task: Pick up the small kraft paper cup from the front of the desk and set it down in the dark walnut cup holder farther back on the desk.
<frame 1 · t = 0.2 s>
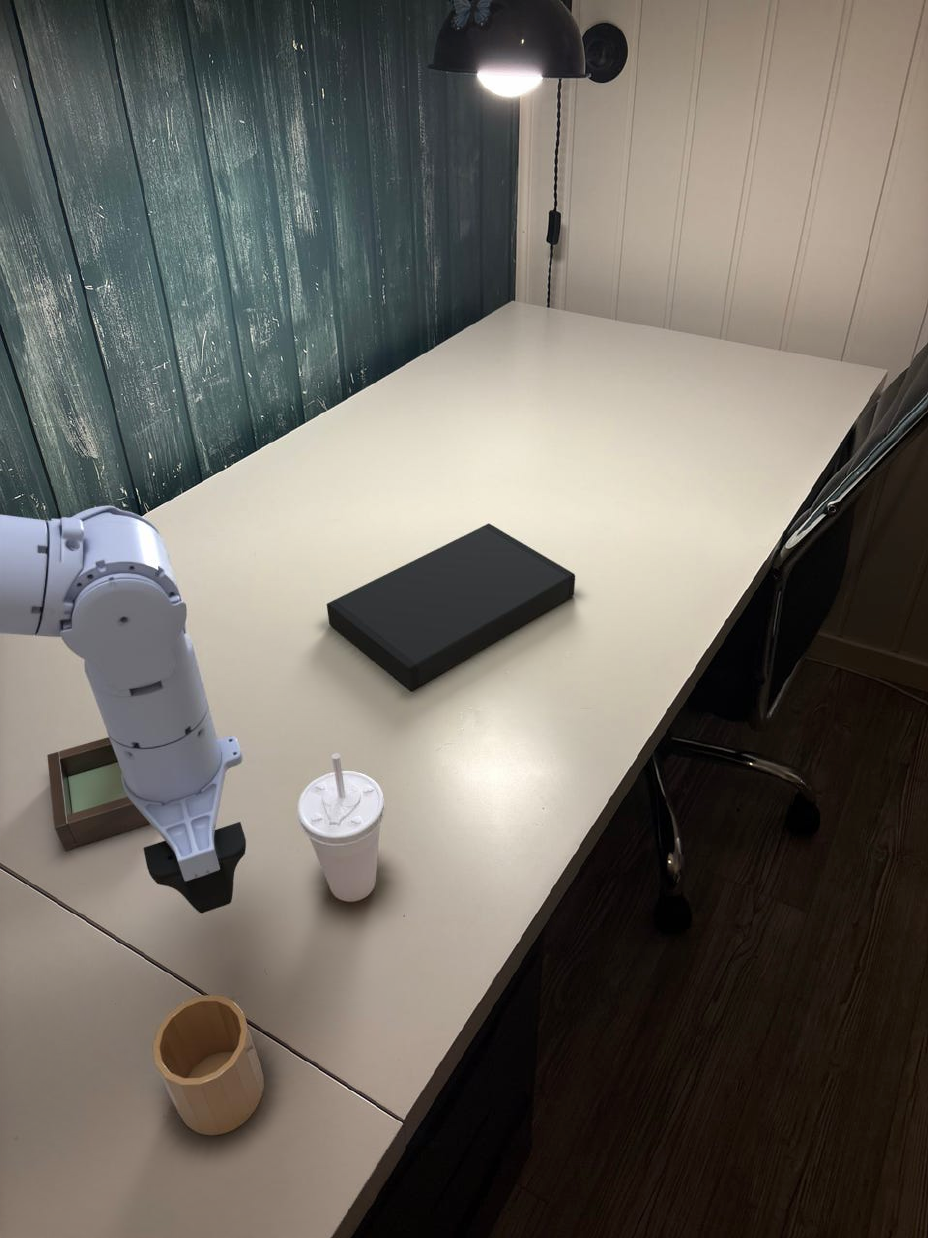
hand: (203, 858, 61), 12 cm above the table, tool pointing down, fingers open, 7 cm apart
external hard drive: (453, 611, 100), on the table
paper cup: (221, 1090, 61), on the table
smoothie: (352, 883, 73), on the table
cup holder: (113, 796, 80), on the table
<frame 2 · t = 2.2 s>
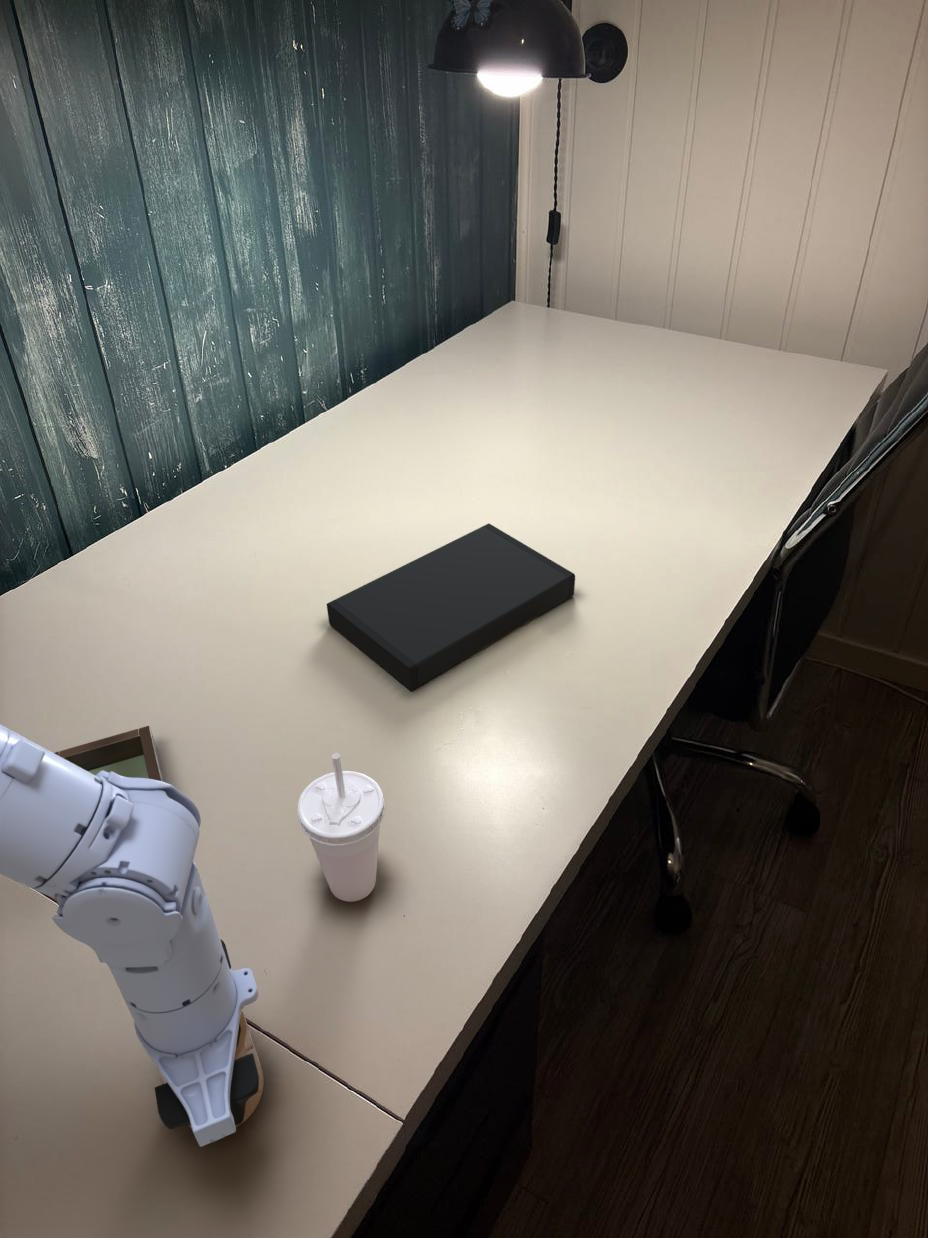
hand: (216, 1078, 59), 2 cm above the table, tool pointing down, fingers closed on paper cup, 5 cm apart
paper cup: (221, 1090, 61), on the table, touching gripper
everything else where it was.
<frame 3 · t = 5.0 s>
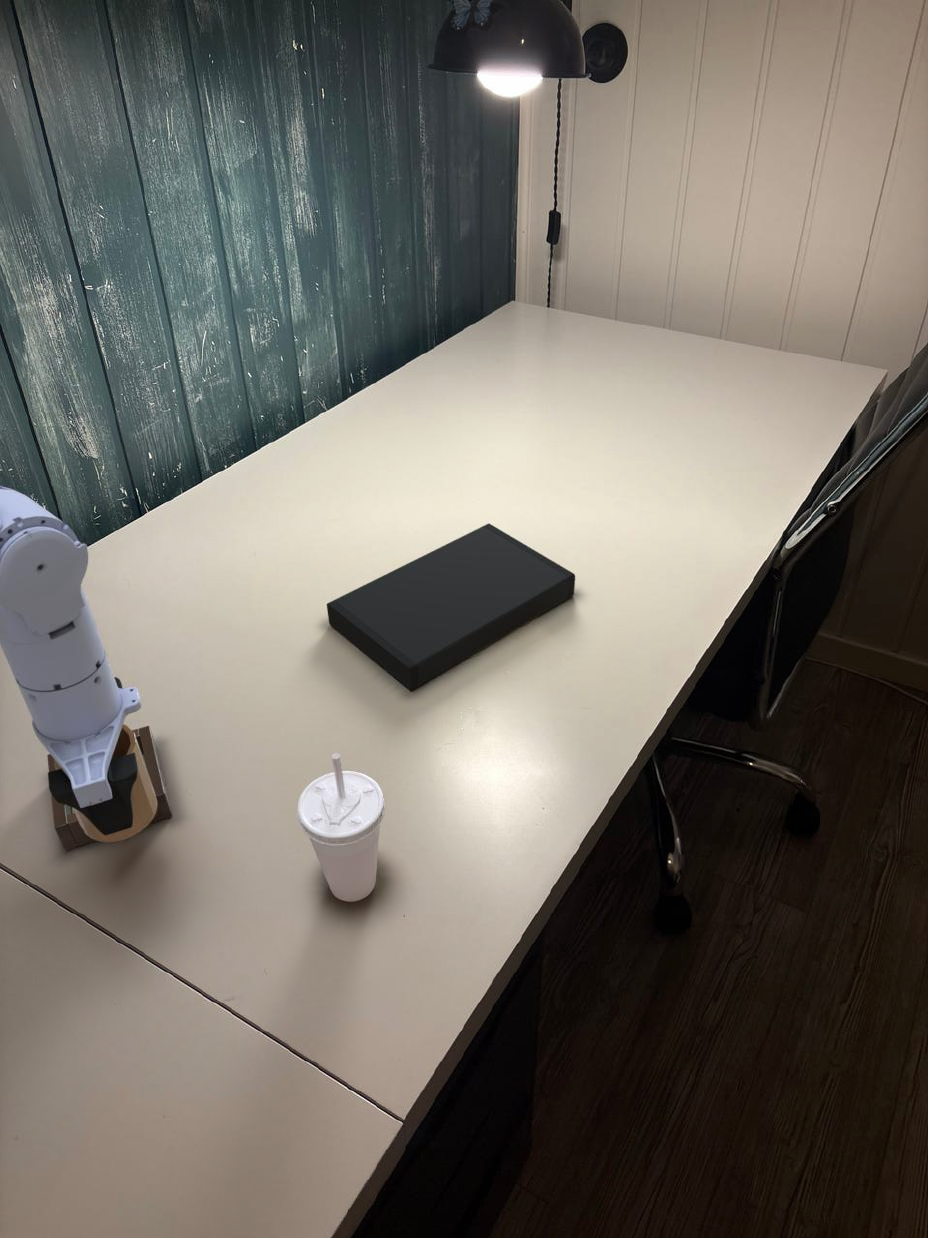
hand: (113, 798, 69), 9 cm above the table, tool pointing down, fingers closed on paper cup, 5 cm apart
paper cup: (119, 812, 70), point 7 cm above the table, touching gripper
everything else where it was.
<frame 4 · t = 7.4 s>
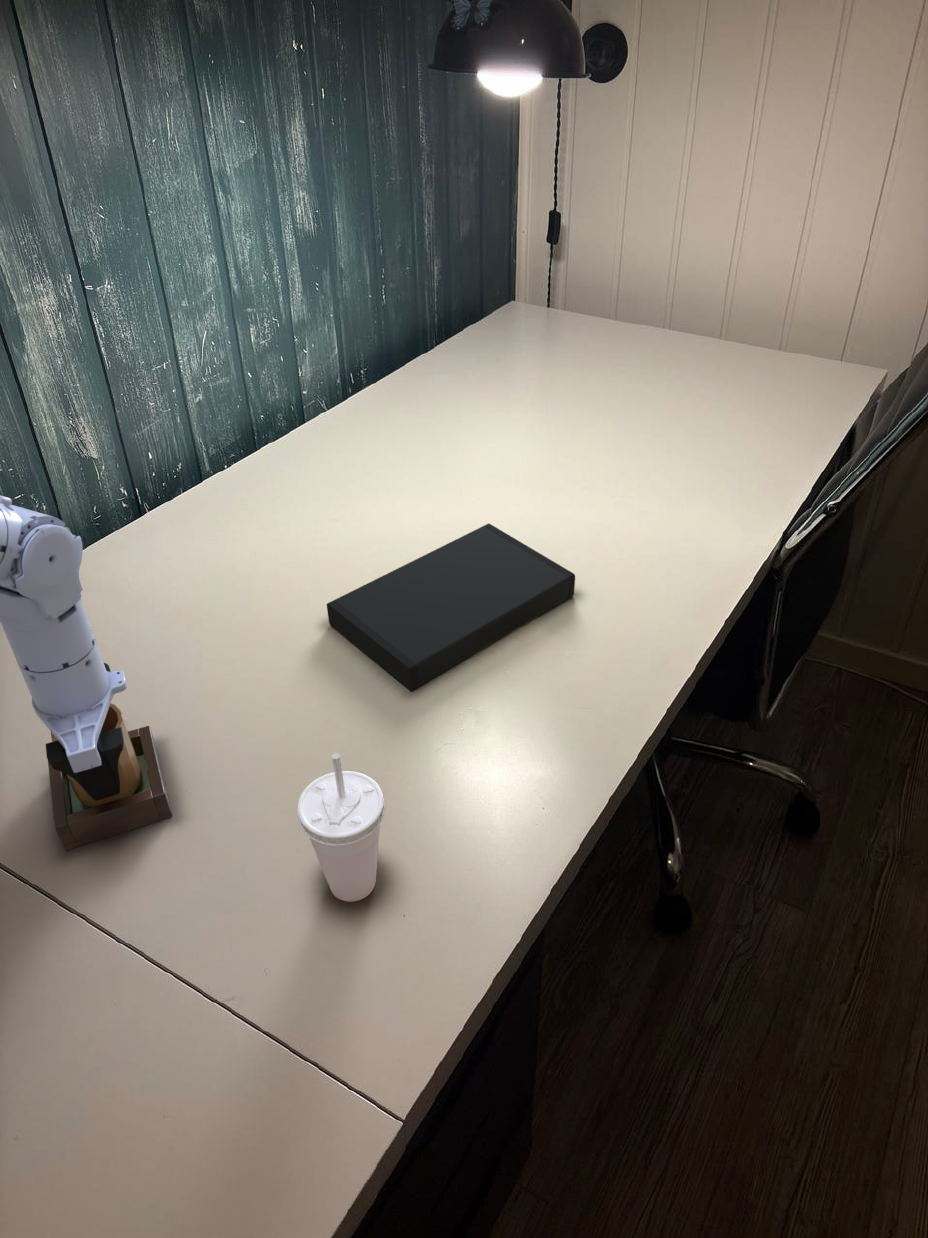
hand: (102, 769, 78), 4 cm above the table, tool pointing down, fingers closed on paper cup, 5 cm apart
paper cup: (108, 782, 79), point 2 cm above the table, touching gripper
everything else where it was.
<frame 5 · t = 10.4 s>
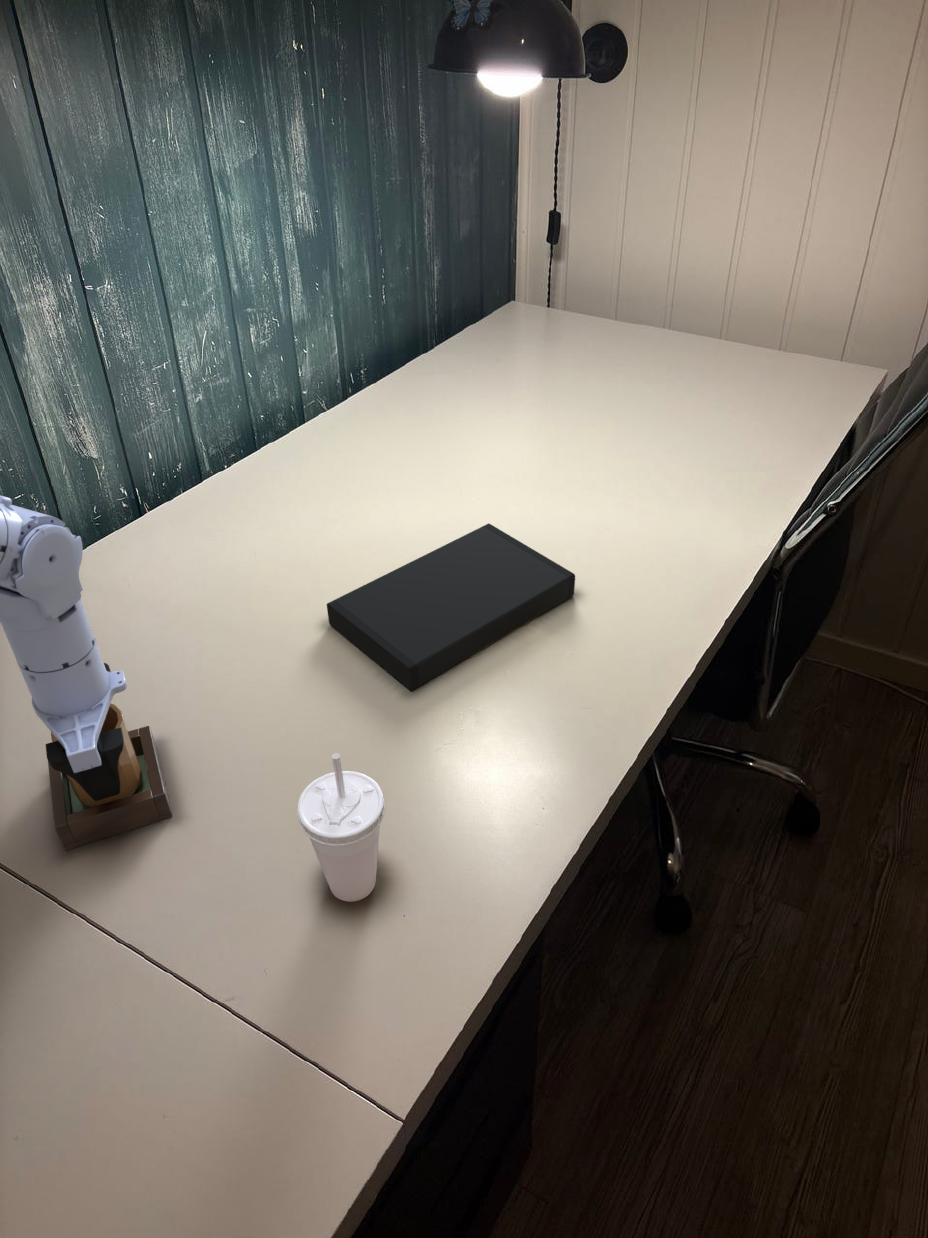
hand: (102, 769, 78), 4 cm above the table, tool pointing down, fingers closed on paper cup, 5 cm apart
paper cup: (108, 782, 79), point 2 cm above the table, touching gripper
everything else where it was.
when the fingers open (4 cm above the table, at t = 12.8 s): paper cup drops 1 cm, resting on cup holder.
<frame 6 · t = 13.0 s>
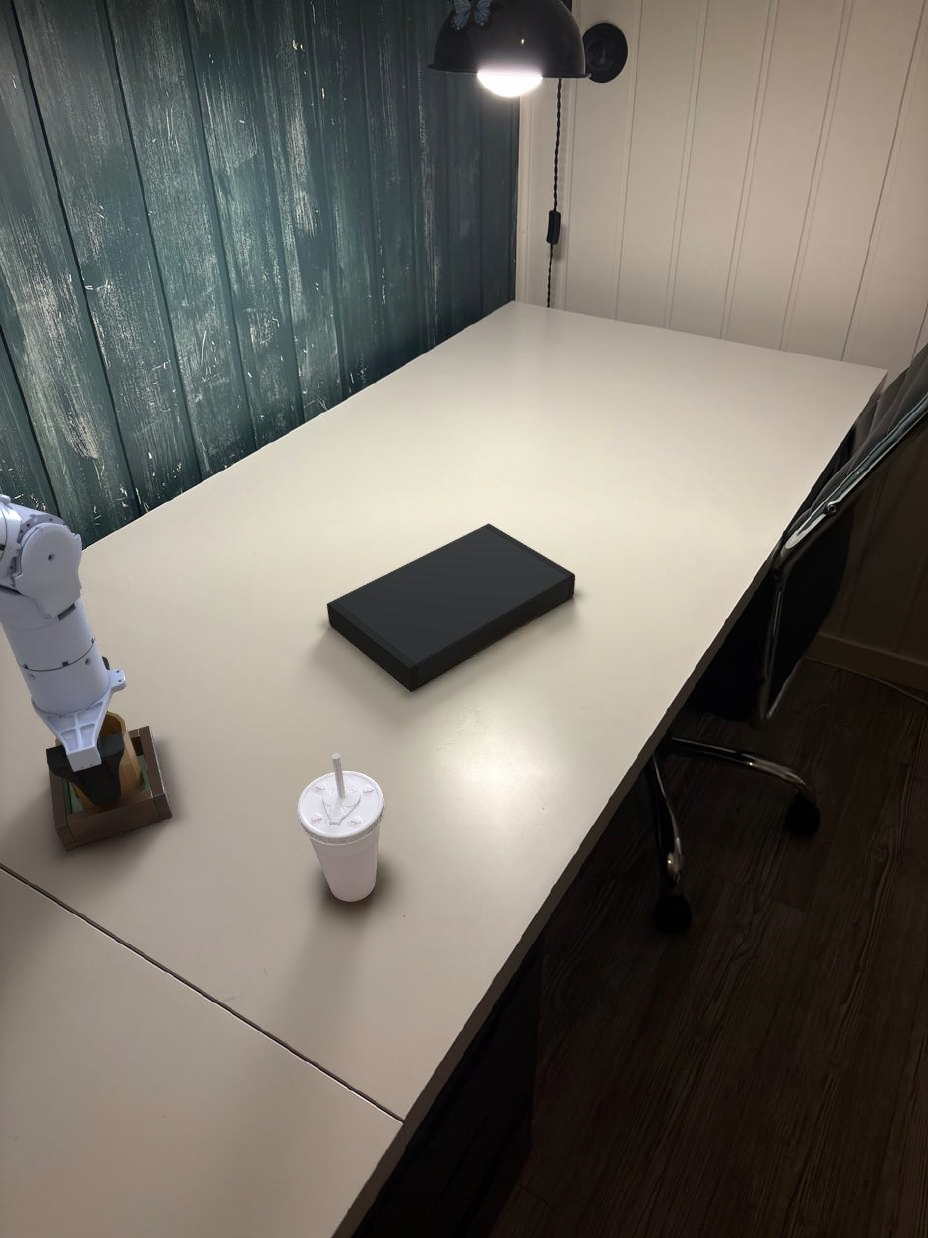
hand: (102, 768, 78), 4 cm above the table, tool pointing down, fingers open, 7 cm apart
paper cup: (112, 791, 80), point 1 cm above the table, touching cup holder
everything else where it was.
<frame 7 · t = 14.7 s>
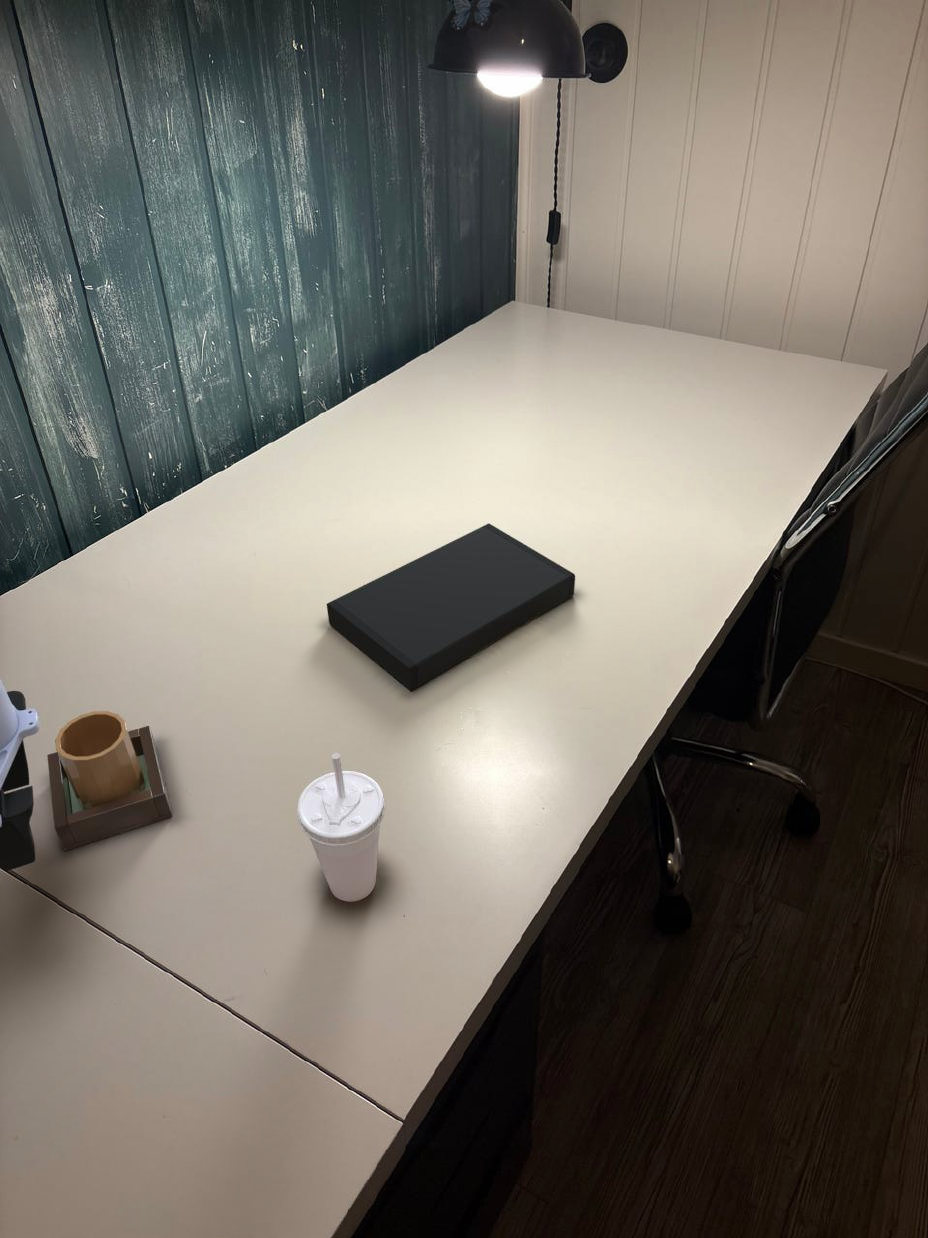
hand: (17, 823, 66), 9 cm above the table, tool pointing down, fingers open, 7 cm apart
nothing on the table moved.
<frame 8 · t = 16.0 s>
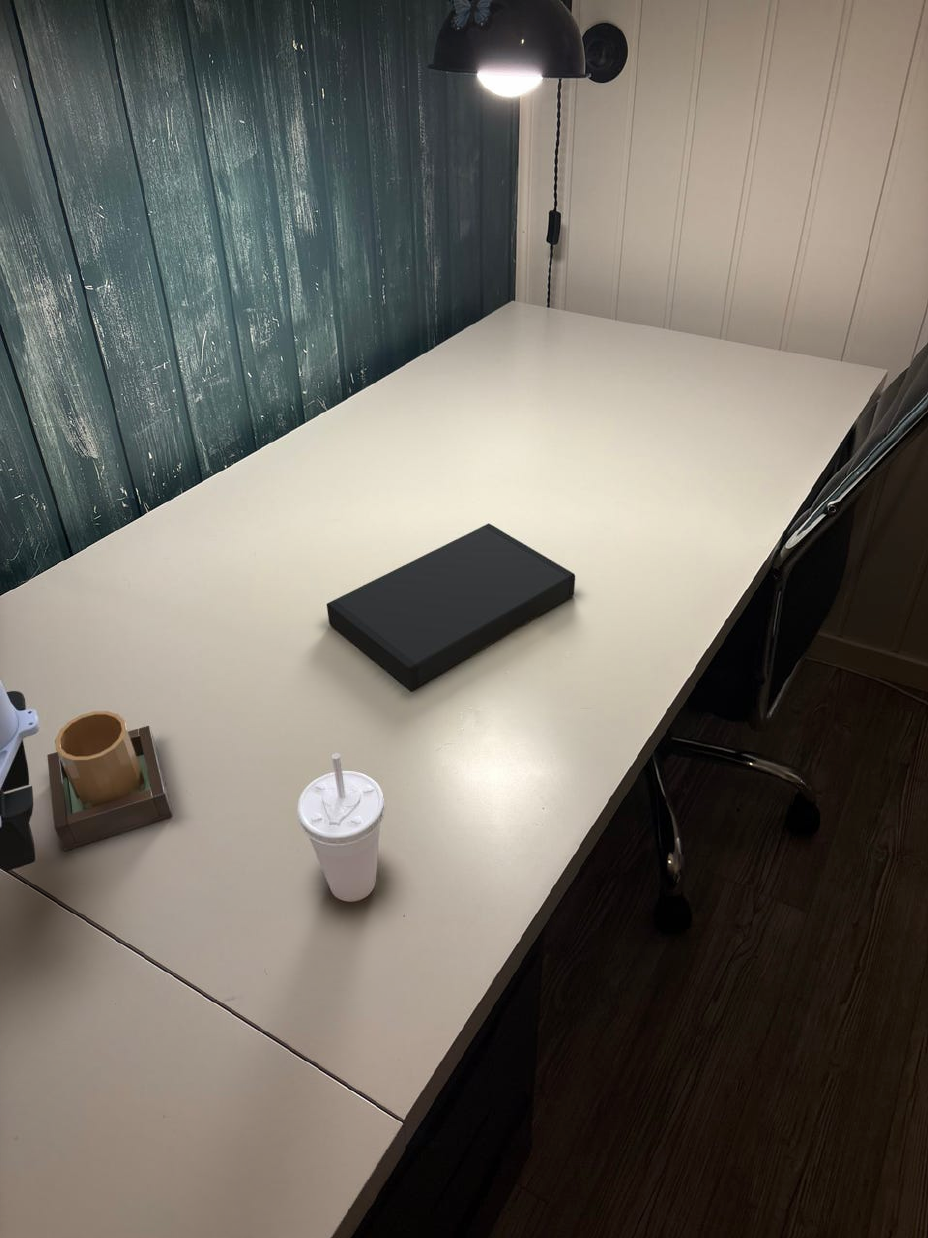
hand: (17, 823, 66), 9 cm above the table, tool pointing down, fingers open, 7 cm apart
nothing on the table moved.
at the end: paper cup 0.1 cm off-centre in the cup holder, point 0.7 cm above the cup holder's base; paper cup tilted 0°; the gripper is holding nothing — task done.
